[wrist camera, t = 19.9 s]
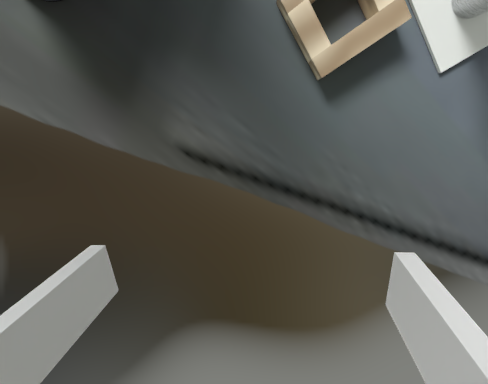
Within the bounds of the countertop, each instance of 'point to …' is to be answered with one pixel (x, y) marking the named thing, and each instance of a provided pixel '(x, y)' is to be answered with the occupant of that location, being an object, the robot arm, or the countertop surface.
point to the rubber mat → (449, 32)
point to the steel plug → (469, 8)
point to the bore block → (332, 56)
